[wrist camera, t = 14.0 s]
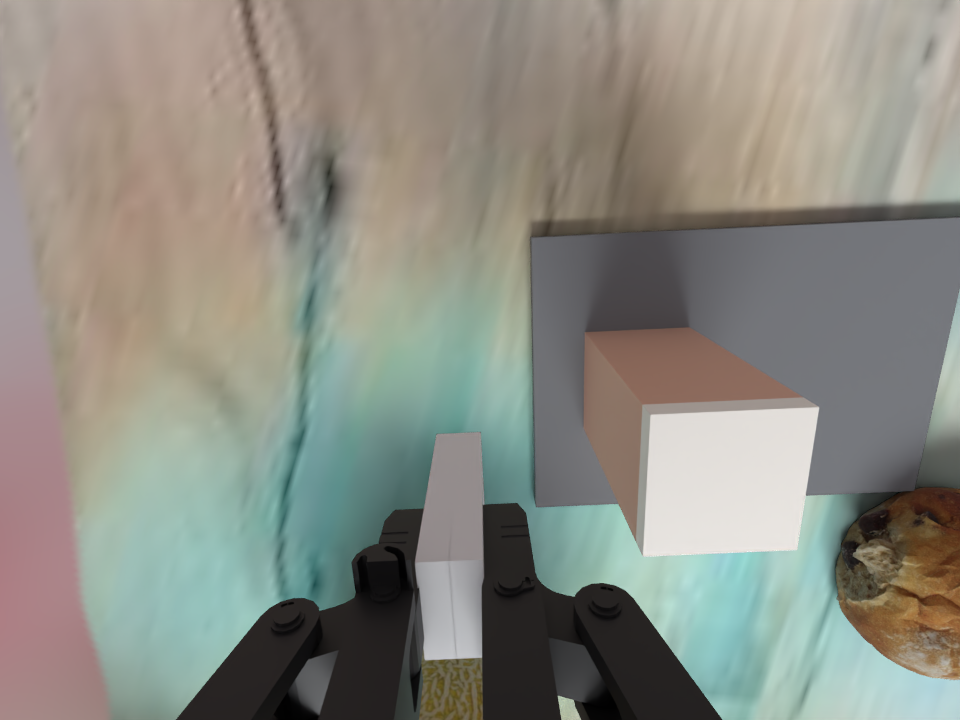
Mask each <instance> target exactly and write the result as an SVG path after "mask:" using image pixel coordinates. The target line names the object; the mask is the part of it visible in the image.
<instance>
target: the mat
mask: <svg viewBox="0 0 960 720" xmlns="http://www.w3.org/2000/svg"><path fill="white" fill-rule="evenodd" d="M530 245H531V303H532V362H533V421H534V480H535V504H536V507H554V506H577V505H600V504H618V502H617V499H616V497H615V495H614V493H613V491H612V489H611V486H610V484H609V482H608V480H607V478H606V476H605V473H604V471H603V469H602V467H601V465H600V463H599V460H598V458H597V456H596V454H595V452H594V450H593V448H592V445H591V443H590V441H589V439H588V437H587V435H586V432H585V430H584V428H583V427H584V351H585V332H599V331H621V330H643V329H665V328H686V327H690V328H691V329H693V330H695V331H696V332H698V333H700V334H701V335H703V336H704V337H706V338H708V339H709V340H711V341H713V342H714V343H716V344H717V345H719V346H721V347H722V348H724V349H726V350H727V351H729V352H730V353H732V354H734V355H735V356H737V357H739V358H740V359H742V360H743V361H745V362H747V363H748V364H750V365H752V366H753V367H755V368H756V369H758V370H760V371H761V372H763V373H765V374H766V375H768V376H769V377H771V378H773V379H774V380H776V381H778V382H779V383H781V384H782V385H784V386H786V387H787V388H789V389H791V390H792V391H794V392H796V393H797V394H799V395H800V396H802V397H804V398H805V399H807V400H809V401H810V402H812V403H813V404H815V405H817V406H818V407H819V412H818V419H817V425H816V432H815V438H814V445H813V451H812V457H811V464H810V470H809V477H808V483H807V490H806V496H808V495H831V494H854V493H877V492H900V491H914V490H915V485H916V481H917V476H918V472H919V467H920V463H921V459H922V454H923V450H924V445H925V441H926V436H927V432H928V427H929V423H930V418H931V414H932V409H933V405H934V400H935V396H936V392H937V387H938V383H939V378H940V374H941V369H942V365H943V360H944V356H945V351H946V347H947V342H948V338H949V334H950V329H951V325H952V320H953V316H954V311H955V307H956V302H957V298H958V293H959V289H960V217H943V218H922V219H901V220H880V221H858V222H837V223H816V224H795V225H773V226H752V227H731V228H710V229H689V230H667V231H646V232H625V233H604V234H582V235H561V236H540V237H530Z"/></svg>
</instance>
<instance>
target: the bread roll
mask: <svg viewBox="0 0 960 720" xmlns="http://www.w3.org/2000/svg"><path fill="white" fill-rule="evenodd" d="M835 571H836V583H837V588H838V597H837V600H838V601H839V605H840V608H841V610H842V612H843V614H844V615H845V617H846V618H847V619H848V621H849V622H850V623H851V624H852V625H853V626H854V628H855V629H856V630H857V631H858V632H859V633H860V635H861V636H862V637H863V638H864V639H865V640H866V641H867V642H868V643H870V644H872V645H873V646H874V647H875V648H876V649H877V650H878V651H879V652H880V653H881V654H883V655H884V656H885V657H886V658H888V659H890V660H891V661H893V662H895V663H896V664H898V665H900V666H902V667H904V668H906V669H908V670H911V671H913V672H916V673H918V674H921V675H925V676H928V677H932V678H942V679H950V680H960V489H955V488H938V487H923V488H917V489H915V490H914V491H904V492H900V493H898V494H896V495H894V496H893V497H891V498H889V499H888V500H886V501H884V502H883V503H881V504H880V505H878V506H877V507H875V508H873V509H871V510H869V511H867V512H866V513H865V514H863V515H862V516H861V517H860V519H859V520H858V521H856V522H854V523H853V525H852V526H851V527H850V528H849V530H848V532H847V535H846V537H845V539H844V541H843V542H842V544H841V552H840V555H839V558H838V560H837V566H836V570H835Z"/></svg>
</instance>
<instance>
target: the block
mask: <svg viewBox="0 0 960 720" xmlns="http://www.w3.org/2000/svg"><path fill="white" fill-rule="evenodd" d="M818 412H819V407H818V406H817V405H815V404H813V403H812V402H810V401H809V400H807V399H805V398H804V397H802V396H800V395H799V394H797V393H796V392H794V391H792V390H791V389H789V388H787V387H786V386H784V385H782V384H781V383H779V382H778V381H776V380H774V379H773V378H771V377H769V376H768V375H766V374H765V373H763V372H761V371H760V370H758V369H756V368H755V367H753V366H752V365H750V364H748V363H747V362H745V361H743V360H742V359H740V358H739V357H737V356H735V355H734V354H732V353H730V352H729V351H727V350H726V349H724V348H722V347H721V346H719V345H717V344H716V343H714V342H713V341H711V340H709V339H708V338H706V337H704V336H703V335H701V334H700V333H698V332H696V331H695V330H693V329H691V328H690V327H686V328H665V329H643V330H621V331H599V332H585V351H584V427H583V428H584V430H585V432H586V435H587V437H588V439H589V441H590V443H591V445H592V448H593V450H594V452H595V454H596V456H597V458H598V460H599V463H600V465H601V467H602V469H603V471H604V473H605V476H606V478H607V480H608V482H609V484H610V486H611V489H612V491H613V493H614V495H615V497H616V499H617V502H618V504H619V506H620V508H621V510H622V512H623V515H624V517H625V519H626V521H627V523H628V525H629V528H630V530H631V532H632V534H633V536H634V538H635V541H636V543H637V545H638V547H639V549H640V551H641V554H642V556H643V557H646V556H669V555H693V554H716V553H739V552H763V551H786V550H797V548H798V541H799V535H800V528H801V522H802V515H803V509H804V503H805V496H806V490H807V483H808V477H809V470H810V464H811V457H812V451H813V445H814V438H815V432H816V425H817V419H818Z"/></svg>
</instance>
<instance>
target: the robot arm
mask: <svg viewBox="0 0 960 720" xmlns="http://www.w3.org/2000/svg"><path fill="white" fill-rule="evenodd" d="M352 570H353V577H354V584H355V591H356V594H355V598H353V599H352V600H350V601H348V602H346V603H344V604H341V605H339V606H336V607H332V608H329V609H326V610H322V611H319V607H318V606H317V605H316V604H315V603H314V602H313V601H311V600H308V599H305V598H293V599H289V600H286V601H282V602H280V603H278V604H276V605H274V606H272V607H271V608H269V609H268V610H267V611H266V612H265V613H264V614H263V615H262V616H261V617H260V618H259V619H258V620H257V621H256V623H255V624H254V625H253V626H252V628H251V629H250V630H249V631H248V632H247V634H246V635H245V636H244V637H243V639H242V640H241V641H240V642H239V643H238V645H237V646H236V647H235V648H234V650H233V651H232V652H231V653H230V654H229V656H228V657H227V658H226V659H225V661H224V662H223V663H222V664H221V665H220V667H219V668H218V669H217V670H216V672H215V673H214V674H213V675H212V676H211V678H210V679H209V680H208V681H207V683H206V684H205V685H204V686H203V687H202V689H201V690H200V691H199V692H198V693H197V695H196V696H195V697H194V698H193V700H192V701H191V702H190V703H189V704H188V706H187V707H186V708H185V709H184V711H183V712H182V713H181V714H180V715H179V717H178V718H177V719H176V720H419V715H420V706H421V697H422V687H423V674H422V664H421V663H422V654H423V649H424V659H425V660H441V659H464V658H482V698H483V720H561V715H560V709H559V702H558V696H562V697H565V698H569V699H573V700H574V702H575V707H576V709H577V711H578V713H579V715H580V718H581V720H722V719H721V717H720V716H719V715H718V713H717V712H716V710H715V709H714V708H713V706H712V705H711V704H710V702H709V701H708V700H707V698H706V697H705V695H704V694H703V693H702V691H701V690H700V689H699V687H698V686H697V685H696V683H695V682H694V680H693V679H692V678H691V676H690V675H689V674H688V672H687V671H686V670H685V668H684V667H683V665H682V664H681V663H680V661H679V660H678V659H677V657H676V656H675V655H674V653H673V652H672V650H671V649H670V648H669V646H668V645H667V644H666V642H665V641H664V640H663V638H662V637H661V635H660V634H659V633H658V631H657V630H656V629H655V627H654V626H653V625H652V623H651V622H650V620H649V619H648V618H647V616H646V615H645V614H644V612H643V611H642V610H641V608H640V607H639V605H638V604H637V603H636V601H635V600H634V599H633V598H632V597H631V596H630V595H629V594H628V593H627V592H626V591H625V590H623V589H621V588H619V587H617V586H615V585H610V584H604V583H599V584H590V585H588V586H585V587H583V588H581V589H580V591H579V592H578V593H577V594H576V595H575V597H572V596H567V595H563V594H559V593H556V592H554V591H552V590H550V589H548V588H546V587H545V586H544V585H543V584H541V582H540V581H539V580H538V578H537V576H536V573H535V568H534V561H533V555H532V548H531V542H530V537H529V529H528V523H527V516H526V513H525V511H524V510H523V509H522V508H521V507H520V506H519V505H518V503H509V504H487V505H484V486H483V467H482V447H481V432H471V433H450V434H436V440H435V446H434V452H433V458H432V464H431V470H430V476H429V482H428V487H427V493H426V499H425V505H424V509H405V510H395V511H394V512H393V513H392V514H391V515H390V516H389V517H388V518H387V519H386V520H385V522H384V526H383V529H382V535H381V536H380V540H379V544H375V545H372V546H370V547H367V548H365V549H363V550H362V551H361V552H360V553H358V554H357V555H356V556H355V558H354V559H353V561H352ZM557 695H558V696H557Z"/></svg>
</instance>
